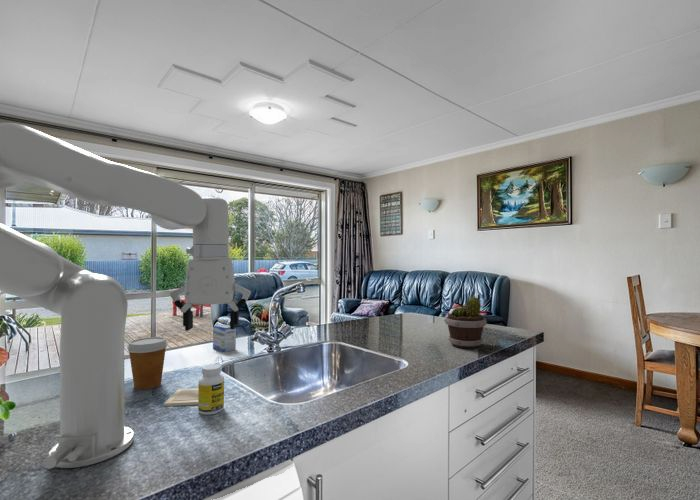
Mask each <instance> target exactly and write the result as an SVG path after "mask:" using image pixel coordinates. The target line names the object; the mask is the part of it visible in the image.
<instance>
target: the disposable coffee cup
mask: <svg viewBox="0 0 700 500" xmlns="http://www.w3.org/2000/svg"><path fill="white" fill-rule="evenodd" d="M167 346H168V342H167V339H166V337H162V336H153V337H152V336H149V337H141V338H136V339H132V340H130V341H129V342H128V346H127V347H126V349H127V352H128V354H129V360H130V367H131V373H132V380H133V388H134V389H135V390H139V391H142V390H151V389H155V388H157V387H159V386H161V384H162V378H163V372H164V371H163V370H164V364H165V363H164V362H165V356H166V348H167Z"/></svg>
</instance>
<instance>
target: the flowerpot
mask: <svg viewBox="0 0 700 500" xmlns="http://www.w3.org/2000/svg"><path fill="white" fill-rule="evenodd" d="M475 294H476V293H475ZM475 294H473V295H470V296H469V298H467V299H466V303H465V305H462V307H461V306H460V305H458V306H457V305H456V306H454V309H453V308H452V312H451V313H447V316H446V317H445V318H444V320H443V321H444V323H445V324H446V325H447V328H448V329H447V330H448V332H449V336H448V341H449V342H450V343H451V345H452V346H453V347H455V346H456V347H455V348H458V347H460V348H459V349H463V348H466V349H467V348H474V349H476V348H475V347H477V348H480V345H482V343H483V341H484V340H483V337H482V335H483V331H484V327H485V326H486V325H487V323H488V321H487V319H486V318H485V317H484V315H482V313H481V312H482V307H483V305H482V301H481V300H480V299H479V296H477V295H475Z"/></svg>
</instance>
